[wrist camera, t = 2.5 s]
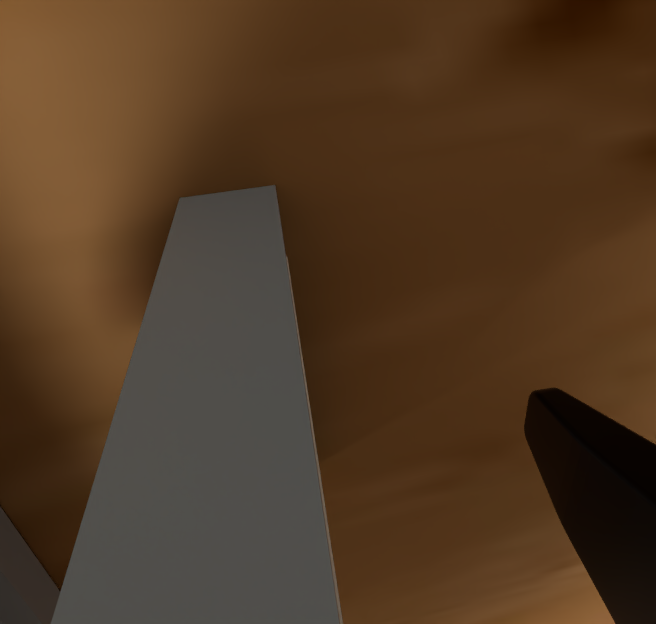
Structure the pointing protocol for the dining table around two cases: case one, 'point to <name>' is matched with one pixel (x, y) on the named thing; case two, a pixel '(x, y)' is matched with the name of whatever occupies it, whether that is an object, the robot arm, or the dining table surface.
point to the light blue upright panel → (210, 444)
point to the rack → (23, 581)
